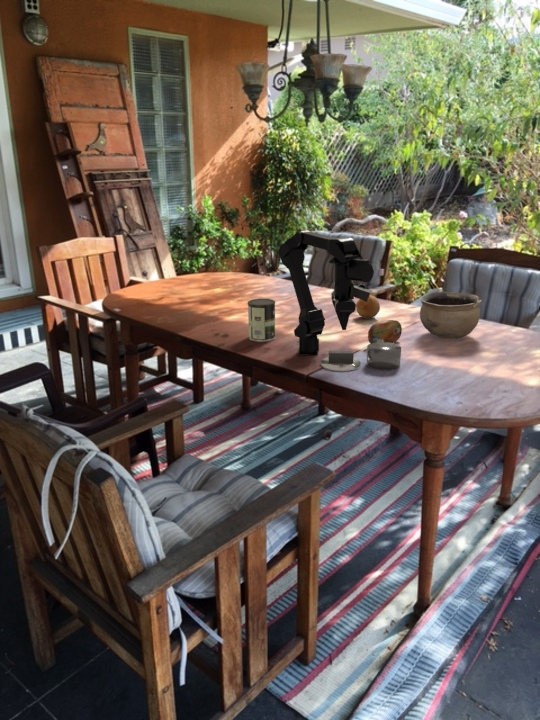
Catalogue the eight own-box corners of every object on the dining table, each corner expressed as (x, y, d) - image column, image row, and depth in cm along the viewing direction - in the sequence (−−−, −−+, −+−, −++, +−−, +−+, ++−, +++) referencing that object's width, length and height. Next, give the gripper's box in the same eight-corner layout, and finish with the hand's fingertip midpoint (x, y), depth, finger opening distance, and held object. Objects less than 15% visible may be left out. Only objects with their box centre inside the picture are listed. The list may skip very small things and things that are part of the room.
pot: (368, 370, 195) (369, 352, 193) (362, 354, 210) (363, 337, 208) (402, 370, 194) (404, 352, 192) (394, 354, 209) (395, 337, 207)
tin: (372, 348, 215) (373, 326, 213) (365, 346, 218) (366, 324, 215) (401, 341, 223) (403, 319, 221) (395, 339, 226) (396, 317, 223)
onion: (356, 314, 259) (357, 291, 256) (379, 315, 257) (380, 292, 254) (354, 320, 250) (355, 296, 247) (378, 321, 248) (380, 297, 245)
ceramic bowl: (476, 347, 215) (480, 306, 210) (413, 342, 222) (416, 302, 217) (478, 330, 234) (482, 293, 229) (421, 326, 242) (424, 289, 237)
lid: (321, 372, 194) (322, 358, 193) (320, 359, 206) (320, 345, 205) (362, 372, 194) (363, 358, 192) (358, 359, 206) (358, 345, 204)
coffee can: (273, 333, 234) (272, 297, 230) (277, 341, 225) (277, 304, 220) (246, 334, 233) (245, 299, 228) (250, 342, 223) (249, 305, 219)
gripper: (372, 283, 182) (371, 333, 187) (365, 272, 199) (364, 318, 204) (335, 284, 182) (335, 334, 187) (331, 273, 200) (331, 319, 205)
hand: (342, 326), depth 196 cm, fingers open, 9 cm apart
